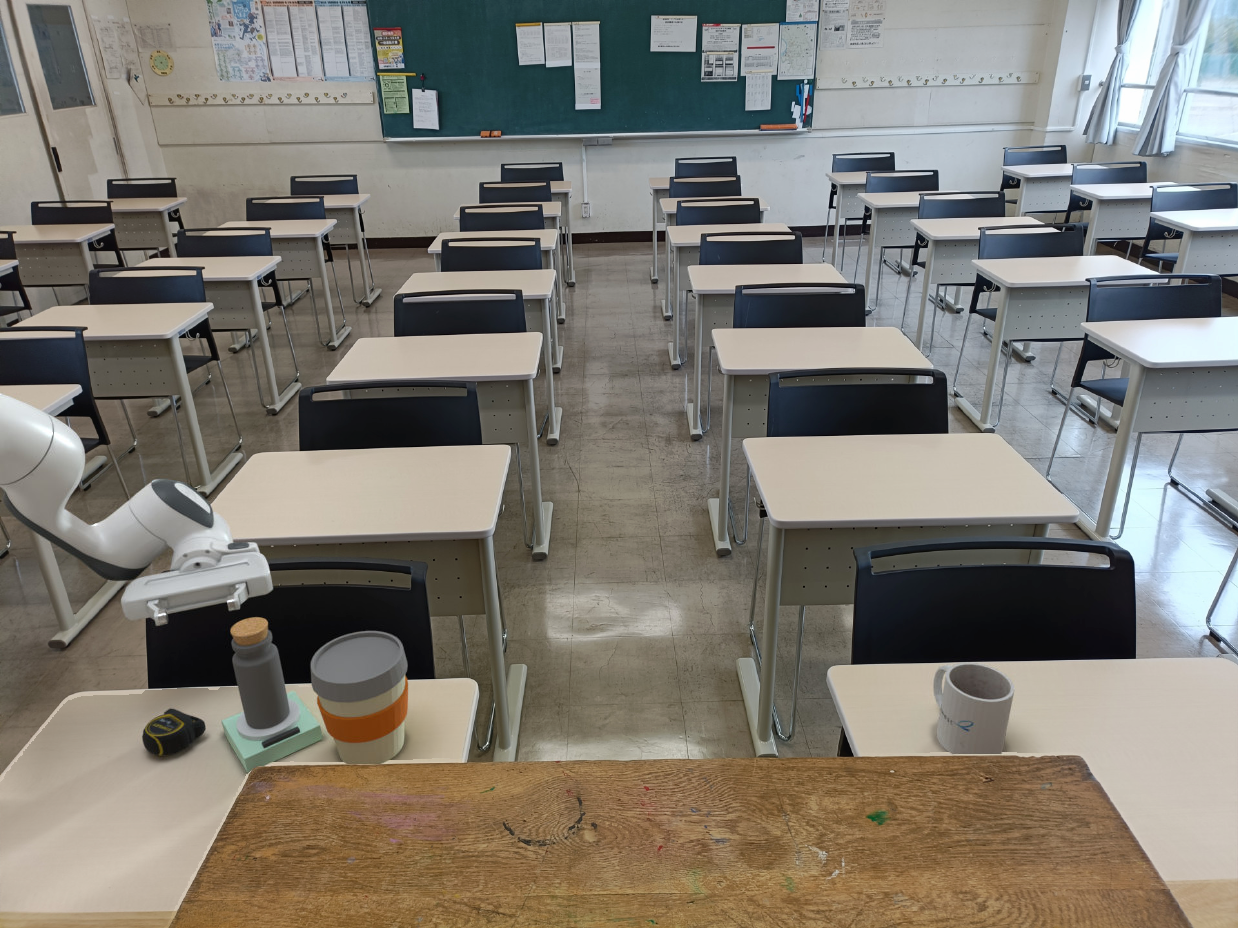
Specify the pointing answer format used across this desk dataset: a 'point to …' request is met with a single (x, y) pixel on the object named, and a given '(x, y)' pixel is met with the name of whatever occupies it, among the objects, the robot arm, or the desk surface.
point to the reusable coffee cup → (363, 695)
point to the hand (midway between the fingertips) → (197, 613)
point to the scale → (272, 735)
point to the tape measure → (172, 732)
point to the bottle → (259, 674)
